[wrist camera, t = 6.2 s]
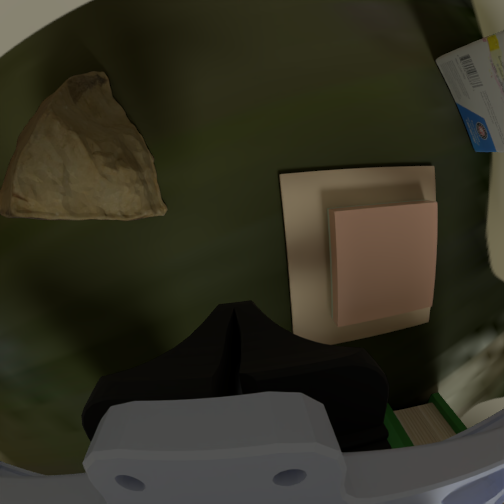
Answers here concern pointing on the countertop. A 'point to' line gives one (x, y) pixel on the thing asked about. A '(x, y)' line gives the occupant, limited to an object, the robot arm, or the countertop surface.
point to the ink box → (478, 89)
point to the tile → (381, 259)
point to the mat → (317, 241)
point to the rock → (81, 160)
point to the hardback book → (422, 423)
